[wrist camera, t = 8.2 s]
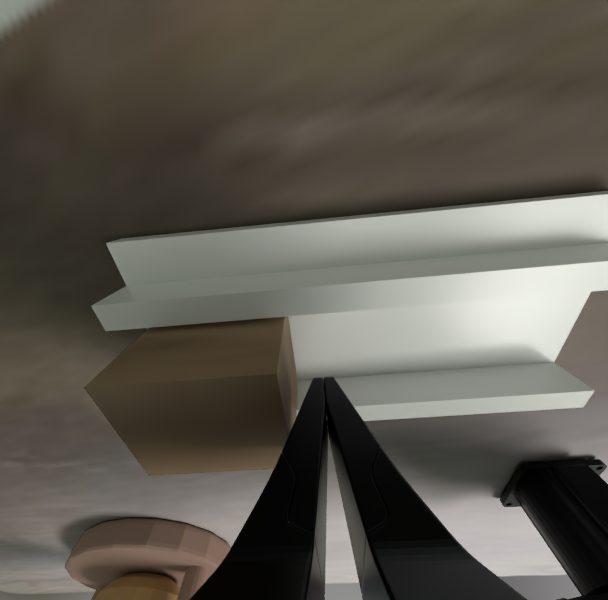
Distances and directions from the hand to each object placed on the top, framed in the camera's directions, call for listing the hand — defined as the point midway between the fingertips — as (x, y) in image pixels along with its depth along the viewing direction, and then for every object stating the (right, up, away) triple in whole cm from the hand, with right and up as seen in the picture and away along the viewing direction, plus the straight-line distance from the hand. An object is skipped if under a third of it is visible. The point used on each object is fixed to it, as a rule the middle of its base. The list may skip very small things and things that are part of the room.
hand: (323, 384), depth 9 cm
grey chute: (+2, +2, +3) cm, 5 cm away
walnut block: (-4, +1, +3) cm, 5 cm away
